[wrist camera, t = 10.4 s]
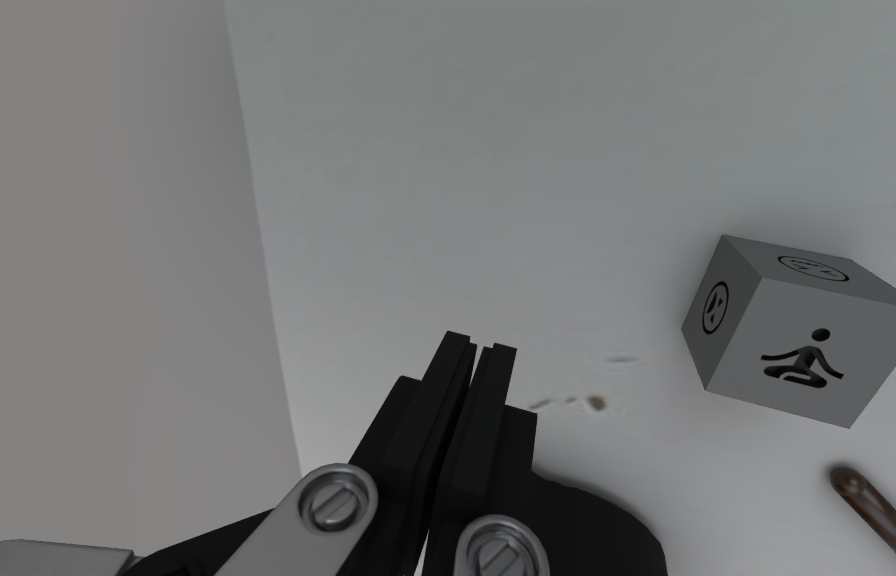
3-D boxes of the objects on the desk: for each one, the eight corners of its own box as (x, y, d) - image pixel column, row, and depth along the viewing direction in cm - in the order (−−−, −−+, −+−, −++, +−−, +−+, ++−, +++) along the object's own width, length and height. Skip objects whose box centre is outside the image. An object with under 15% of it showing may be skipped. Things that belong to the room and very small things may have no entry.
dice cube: (681, 329, 21) (705, 390, 17) (722, 234, 19) (762, 277, 15) (793, 356, 20) (849, 428, 16) (850, 259, 18) (934, 313, 14)
